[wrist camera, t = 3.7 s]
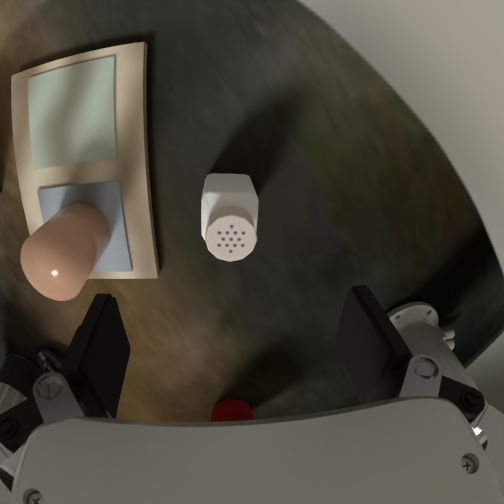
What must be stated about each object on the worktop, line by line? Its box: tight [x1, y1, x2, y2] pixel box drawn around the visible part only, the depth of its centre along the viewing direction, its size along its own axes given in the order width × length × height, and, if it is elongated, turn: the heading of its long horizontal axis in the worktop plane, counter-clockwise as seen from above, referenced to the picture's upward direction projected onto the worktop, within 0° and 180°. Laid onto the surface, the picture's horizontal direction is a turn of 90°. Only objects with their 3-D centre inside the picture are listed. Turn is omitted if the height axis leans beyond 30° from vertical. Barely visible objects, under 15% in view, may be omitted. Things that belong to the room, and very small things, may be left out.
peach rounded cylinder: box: [21, 201, 110, 301], centre depth 22 cm, size 6×6×7 cm
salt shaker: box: [201, 173, 258, 262], centre depth 23 cm, size 4×4×10 cm
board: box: [11, 42, 160, 279], centre depth 24 cm, size 14×22×2 cm, turn 178°
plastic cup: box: [211, 399, 254, 422], centre depth 37 cm, size 11×11×12 cm
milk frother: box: [0, 349, 62, 414], centre depth 29 cm, size 14×16×15 cm
